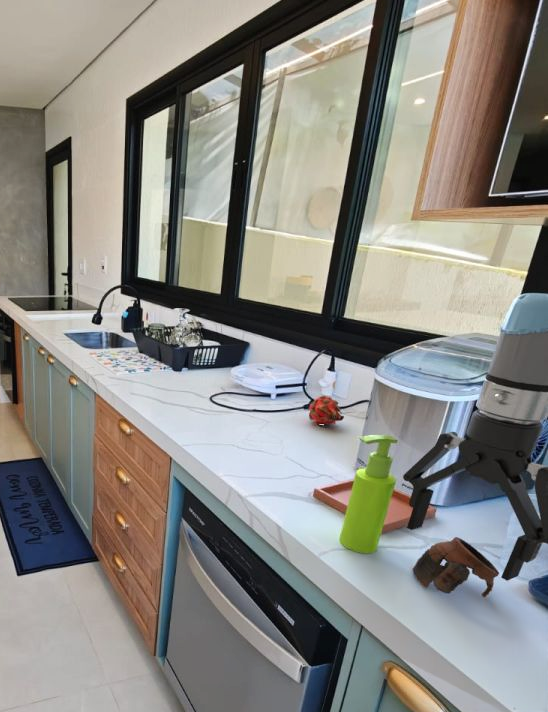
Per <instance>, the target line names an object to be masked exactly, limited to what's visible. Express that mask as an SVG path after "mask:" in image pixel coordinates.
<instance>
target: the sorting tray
mask: <svg viewBox="0 0 548 712" xmlns="http://www.w3.org/2000/svg"><path fill="white" fill-rule="evenodd" d="M354 479H355V477H354V478H349V479H345V480H342V481H338V482H334V483H330V484H326V485H322V486H318V487H314V489H313V492H312V497H314V498H316V499H317V500H319V501H321V502H323V503H324V504H327V505H328V506H329V507H332V508H334V509H335V510H337V511H339V512H341V513H343V514H344V515H346V511H347V507H348V503H349V499H350V495H351V491H352V487H353V483H354ZM410 498H411V495H409V494H407V493H405V492H403V491H400V490H399V489H396V488H394V490H393V494H392V497H391V501H390V504H389V508H388V511H387V515H386V518H385V522H384V525H383V529H382V532H381V535H382V534H386V533H389V532H392V531H394V530H398V529H400V528H404V527H407V526H408V523H409V519H410V516H411V513H412V510H413V507H411V506H409V501H410ZM437 511H438V508H437V507H435V506H433V505H430V504H429V507H428V510H427V513H426V516H425V519H424V521H425V520H429V519H431V518H434V517H435V516H436V513H437Z"/></svg>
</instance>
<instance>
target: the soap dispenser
mask: <svg viewBox="0 0 548 712" xmlns="http://www.w3.org/2000/svg"><path fill="white" fill-rule="evenodd" d="M358 439H359V440H360V441H362V442H363V443H365V444H367V445H371V444H376V443H378V444H377V447H376V451H374V452H373V451H372V452H370V453H369V454H368V457H367V458H368V459H367V462H366V465H365V468H359V469H357V470H356V472H355V475H354V478H355V479H354V478H353V479H354V483H353V487H352V491H351V495H350V499H349V503H348V507H347V511H346V514H344V519H343V523H342V527H341V531H340V535H339V542H340V543H341V545H342V546H343V547H345V548H347V549H348V550H351V551H353V552H357V553H361V554H373V553H375V552H376V551H377V549H378V546H379V542H380V539H381V536H382V534H381V532H382V529H383V525H384V522H385V518H386V515H387V511H388V508H389V504H390V501H391V497H392V494H393V490H394V489H395V486H396V482H397V479H396V477H395V476H394V475H392V474H390V470H391V467H392V463H393V460H394V459H393V457H392V456H391V455H390V454H389V451H390V448H391V444H398V439H397V438H396V437H393V436H392V435H389V434H368V435H362V436H360V437H358Z"/></svg>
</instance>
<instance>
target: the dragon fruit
mask: <svg viewBox="0 0 548 712" xmlns="http://www.w3.org/2000/svg"><path fill="white" fill-rule="evenodd" d="M308 410H309V413H308V418H309V420H310V421H314V422H315V423H316V424H317V425H318V424H325V425H326V424H327V425H331V426H333V425H334V424H336V423H337V422H340V421H343V420H344V418H345V416H344V415H342V414H343V413H342V411H341V407H340V406H339V402H338V401H337V400H335V399H333V398H332V397H331V396H328V395H327V396H326V395H320V396H319V397H317V398H315V399H314V400H313V401H312V402H311V403H310V404H309V407H308ZM325 425H322V426H321V427H323V426H325Z"/></svg>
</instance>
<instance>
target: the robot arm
mask: <svg viewBox="0 0 548 712" xmlns="http://www.w3.org/2000/svg"><path fill="white" fill-rule="evenodd" d="M475 406H476V407H477V409H476V410H474V411H473V412H472V415H471V417H470V420H469V422H468V426H467V430H466V434H465V437H464V438H462V437H460V436H458V433H457V432H455V431H448V432H444V433H441V434H439V436H438V437H437V440H436V442H435V444H434V446H433V447H432V448H430V450H429V451H427V452H426V453H425V454H424V455H423V456H422V457H421V458H420V459H419V460H418V461H417V462H416V463H415V464H414V465H412V467H410V468H409V469H408V470H407V471H406V472H405V473H404V474H403V475H402V478H403V480H404V481H405V482H409V484H411V485H412V492H411V495H410V496H411V498H410V501H409V506H411V507H413V510H412V513H411V516H410V519H409V523H408V525H407V526H406V529H407V530H409V531H413V530H417V529H420V528H422V527H423V525H424V522H425V520H426V519H425V516H426V513H427V510H428V507H429V505H430V504H431V501H432V498H433V495H434V489H431V488H430V487H432V486H434V485H436V484H438V483H440V482H443V481H445V480H447V479H449V478H451V477H453V476H456V475H457V474H460V473H462V472H464V471H467V473H469V476H471V477H474V478H480V479H483V480H484V481H485V482H487V483H489V484H492V485H494V484H498V485H499V487H500V489H501V491H502V493H505V495H506V497H507V500H508V502H509V503H510V505H511V508H512V510H513V512H514V514H515V516H516V518H517V521H518V523H519V525H520V527H521V529H522V531H523V533H524V534H522V535H520V536H517V538H516V541H515V543H514V546H513V548H512V550H511V553H510V555H509V558H508V560H507V562H506V565H505V568H504V569H503V571H502V574H501V579H502V580H505V581H506V582H508V581H510V580H512V579H514V578H516V577H519V575H520V572H521V570H522V568H523V565H524V563H526V564H528V563H530V562H532V561H534V560H535V559H537V556H538V554H539V551H540V550H541V547H542V545H543V544H546V545H548V465H545V464H540V463H535V462H533V460H532V455H533V452H534V450H535V448H536V446H537V443H538V440H539V438H540V436H541V434H542V431H543V428H544V425H543V423H542V421H545V420H546V419H548V293H542V292H541V293H539V292H527V293H522V294H520V295H518V296H517V297H516V298H514V300H513V301H512V303H511V304H510V308H509V309H508V310H507V312H506V315H505V318H504V319H503V322H502V325H501V326H500V329H499V335H498V338H497V341H496V344H495V348H494V351H493V354H492V357H491V360H490V363H489V366H488V369H487V372H486V375H485V378H484V380H483V384H482V386H481V388H480V392H479V395H478V398H477V399H476V403H475ZM456 448H458V451H459V454H460V457H461V458H460V459H459V460H457V461H454V462H452V463H451V464H449V465H448V466H445V467H444V468H442V469H439V470H437V471H435V472H434V473H431V474H429V475H427V476H425V477H422V476H424V474H426V472H428V471H429V470H430V469H431V468H432V467H433V466H434V465H435V464H436V463H438V462H439V461H440V460H441V459H443V457H444V456H445V455H447V454H448V453H449V452H450V451H451V450H454V449H456ZM527 472H528V473H529V474H530V476H531V480H532V481H534V490H535V498H536V501H537V502H536V503H537V508H538V512H537V509H536V507H535V505H534V503H533V501H532V499H531V497H530V495H529V493H528V491H527V489H526V485H527V484H526V482H525V480H524V478H523V476H522V475H523V474H525V473H527ZM424 519H425V520H424Z"/></svg>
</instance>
